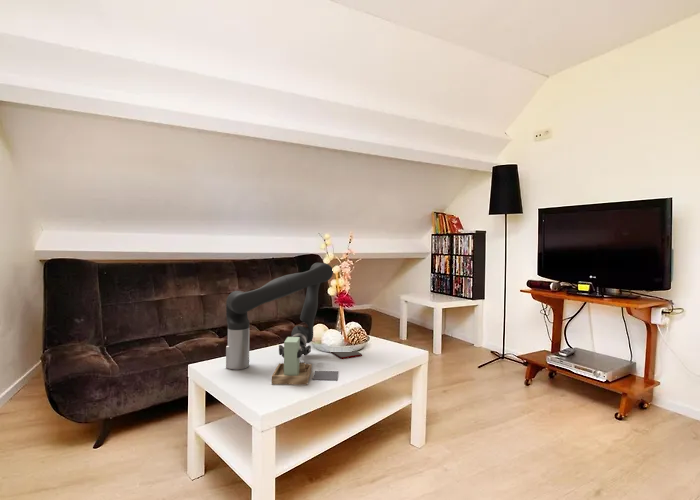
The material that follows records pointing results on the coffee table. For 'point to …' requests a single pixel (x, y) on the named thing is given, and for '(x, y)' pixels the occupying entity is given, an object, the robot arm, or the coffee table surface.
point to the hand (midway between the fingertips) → (291, 355)
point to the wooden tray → (301, 379)
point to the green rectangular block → (291, 356)
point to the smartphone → (347, 354)
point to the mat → (325, 375)
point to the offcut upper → (301, 365)
